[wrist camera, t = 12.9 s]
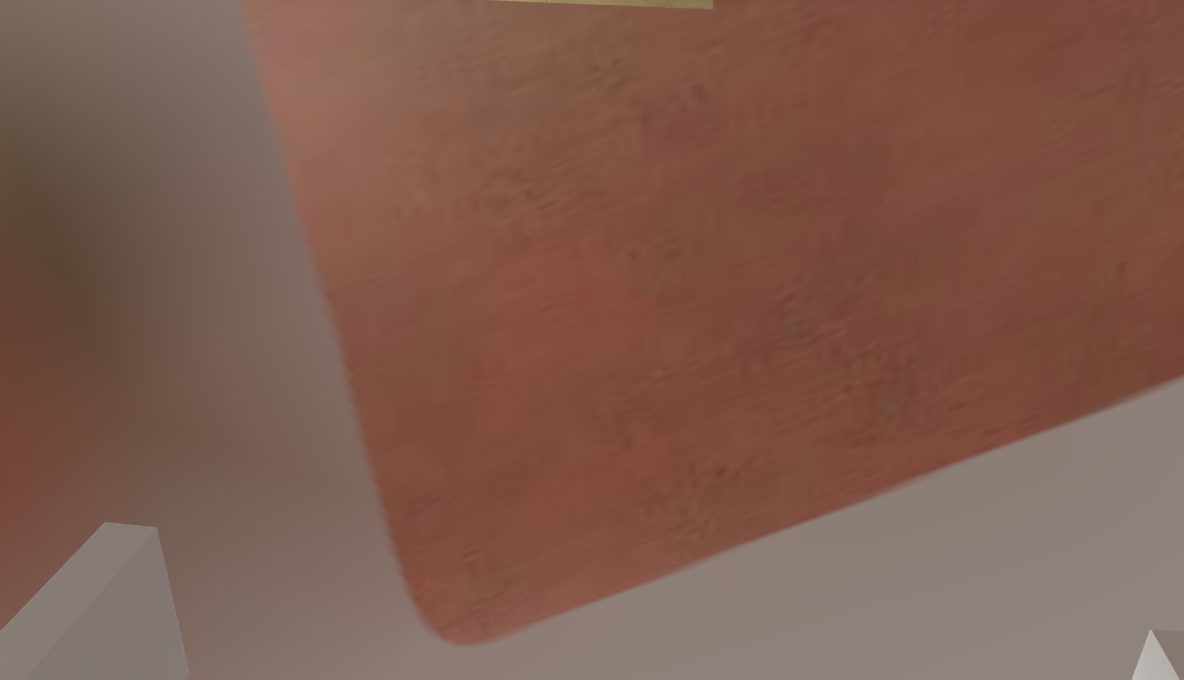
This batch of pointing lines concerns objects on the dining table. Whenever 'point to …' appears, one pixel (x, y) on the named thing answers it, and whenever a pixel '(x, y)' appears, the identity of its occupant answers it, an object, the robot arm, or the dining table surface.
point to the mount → (637, 3)
